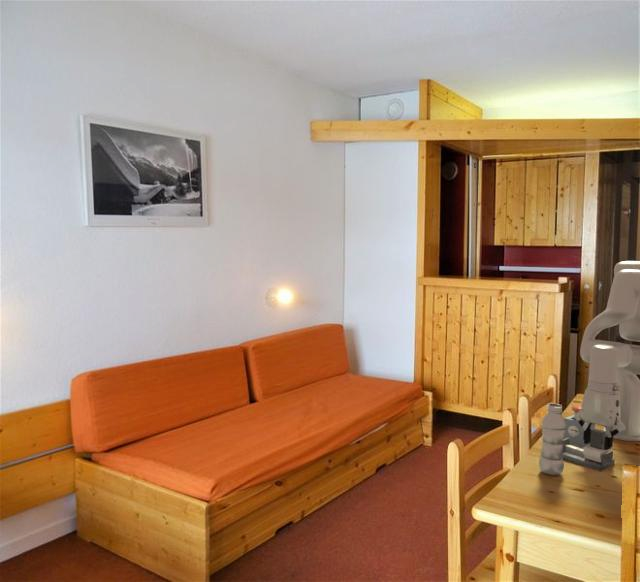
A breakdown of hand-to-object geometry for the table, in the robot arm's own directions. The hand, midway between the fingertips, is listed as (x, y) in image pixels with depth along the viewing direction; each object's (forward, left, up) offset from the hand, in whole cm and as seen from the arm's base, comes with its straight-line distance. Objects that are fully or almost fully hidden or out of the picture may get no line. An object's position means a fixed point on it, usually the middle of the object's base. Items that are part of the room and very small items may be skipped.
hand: (597, 445), depth 179 cm
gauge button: (-14, -13, +1) cm, 19 cm away
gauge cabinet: (-14, -13, -6) cm, 20 cm away
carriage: (0, 0, -4) cm, 4 cm away
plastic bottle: (+18, -5, -6) cm, 20 cm away
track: (0, -4, -6) cm, 7 cm away
